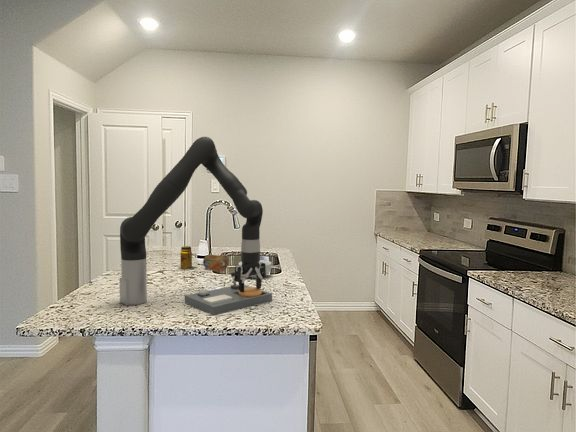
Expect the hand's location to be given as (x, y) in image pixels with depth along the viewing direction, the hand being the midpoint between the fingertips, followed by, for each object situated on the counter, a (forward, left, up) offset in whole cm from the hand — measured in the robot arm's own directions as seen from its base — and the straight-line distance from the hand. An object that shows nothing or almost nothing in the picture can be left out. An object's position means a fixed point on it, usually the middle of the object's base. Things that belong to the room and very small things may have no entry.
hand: (250, 290), depth 168 cm
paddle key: (-16, 0, -2) cm, 16 cm away
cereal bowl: (+29, +33, -5) cm, 44 cm away
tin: (+22, +58, -5) cm, 62 cm away
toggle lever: (0, +10, 0) cm, 10 cm away
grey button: (-16, +10, -1) cm, 19 cm away
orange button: (0, 0, -2) cm, 2 cm away
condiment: (+13, +72, -5) cm, 73 cm away
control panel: (-8, +4, -4) cm, 10 cm away
